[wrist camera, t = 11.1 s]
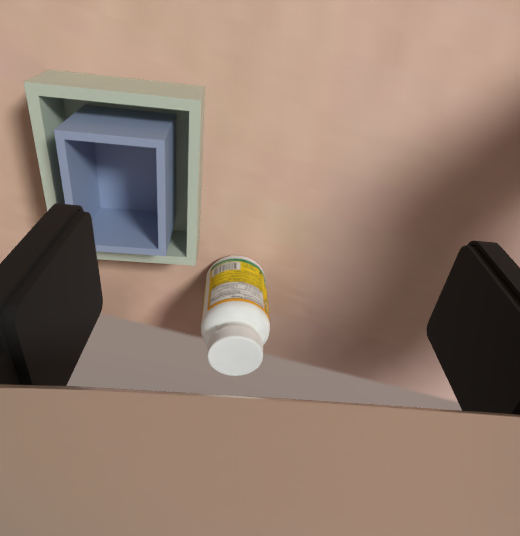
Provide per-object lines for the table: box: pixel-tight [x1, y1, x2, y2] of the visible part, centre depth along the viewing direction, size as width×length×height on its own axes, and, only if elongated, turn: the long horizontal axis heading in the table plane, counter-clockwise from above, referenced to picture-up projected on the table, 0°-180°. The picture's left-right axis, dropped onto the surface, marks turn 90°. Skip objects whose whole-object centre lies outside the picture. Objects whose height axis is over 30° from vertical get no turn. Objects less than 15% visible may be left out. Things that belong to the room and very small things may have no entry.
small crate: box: [54, 105, 177, 256], centre depth 29 cm, size 6×8×6 cm
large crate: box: [24, 70, 205, 266], centre depth 30 cm, size 10×12×4 cm
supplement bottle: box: [201, 255, 270, 376], centre depth 34 cm, size 5×5×10 cm
